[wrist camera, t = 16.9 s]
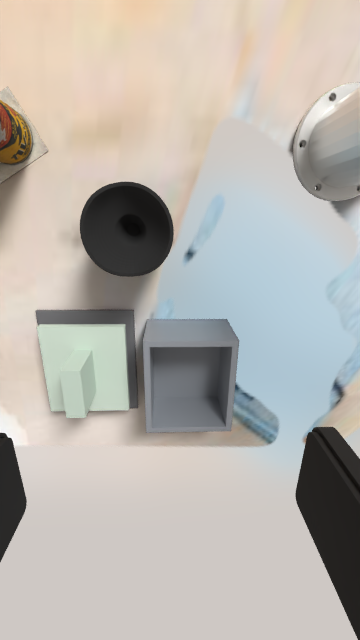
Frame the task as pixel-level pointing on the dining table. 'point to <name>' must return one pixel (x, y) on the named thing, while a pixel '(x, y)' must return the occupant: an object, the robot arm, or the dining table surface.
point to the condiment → (16, 137)
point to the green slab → (85, 367)
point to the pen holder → (126, 229)
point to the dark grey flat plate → (101, 318)
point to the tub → (189, 374)
